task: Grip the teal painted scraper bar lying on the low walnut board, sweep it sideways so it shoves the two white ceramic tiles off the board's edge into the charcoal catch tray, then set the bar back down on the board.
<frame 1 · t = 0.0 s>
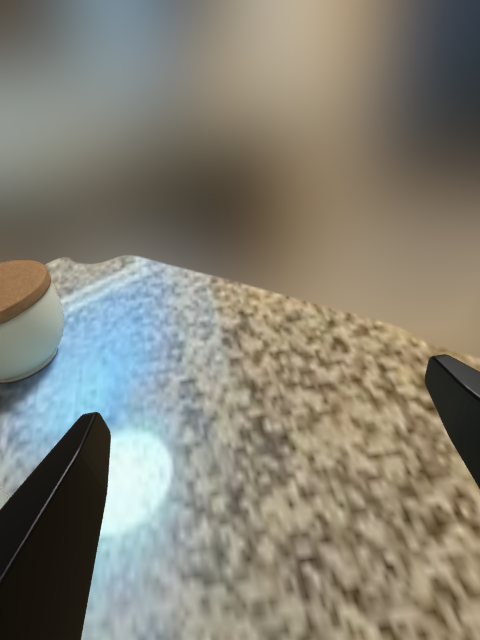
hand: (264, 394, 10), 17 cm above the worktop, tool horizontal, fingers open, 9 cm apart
lidded bowl: (25, 360, 41), on the worktop
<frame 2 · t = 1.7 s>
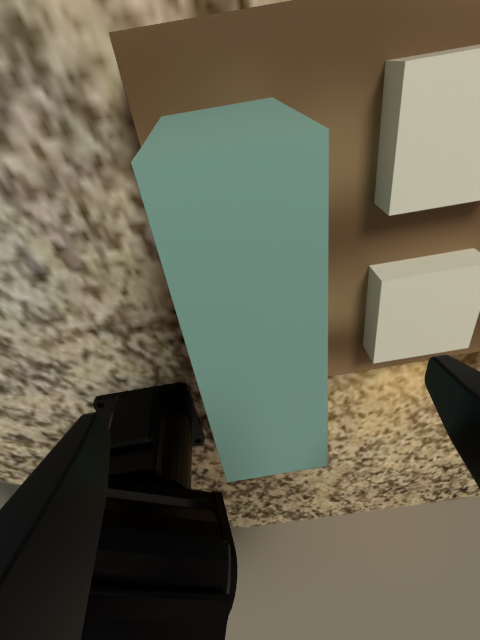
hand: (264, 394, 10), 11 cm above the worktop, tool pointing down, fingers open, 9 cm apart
scraper: (240, 258, 16), point 3 cm above the worktop, touching board
tile 1: (443, 128, 14), point 3 cm above the worktop, touching board
board: (349, 213, 19), on the worktop
tile 2: (413, 300, 19), point 3 cm above the worktop, touching board
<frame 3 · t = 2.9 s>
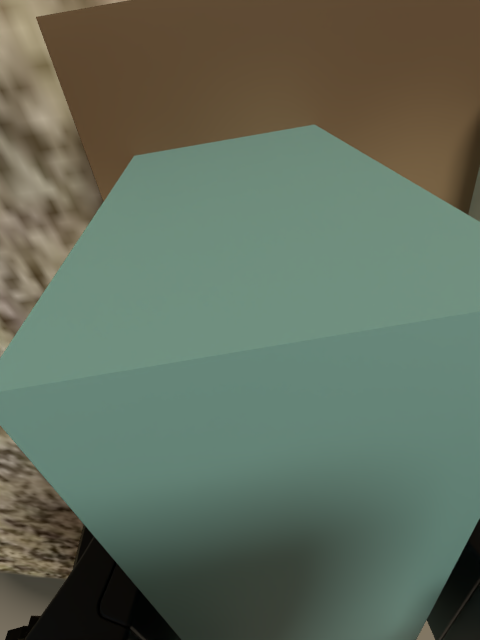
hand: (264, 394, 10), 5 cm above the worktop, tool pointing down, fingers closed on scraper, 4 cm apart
scraper: (255, 346, 12), point 3 cm above the worktop, touching board, gripper
board: (401, 269, 14), on the worktop
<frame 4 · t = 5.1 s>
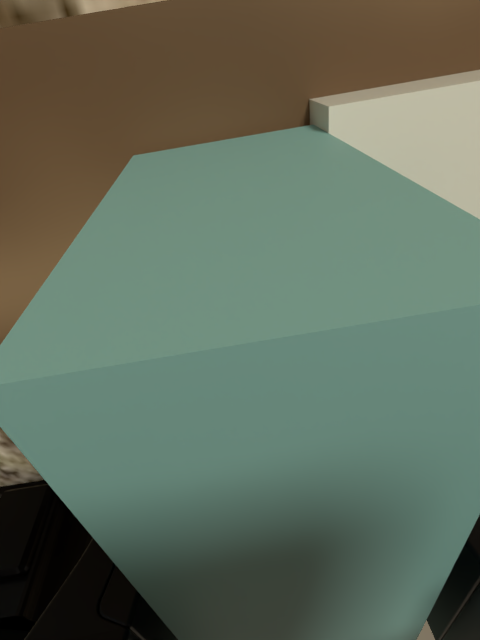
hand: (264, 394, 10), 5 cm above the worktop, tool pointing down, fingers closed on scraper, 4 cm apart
scraper: (254, 347, 11), point 3 cm above the worktop, touching gripper, tile 2, tile 1
tile 1: (407, 194, 9), point 3 cm above the worktop, touching scraper
board: (271, 288, 14), on the worktop
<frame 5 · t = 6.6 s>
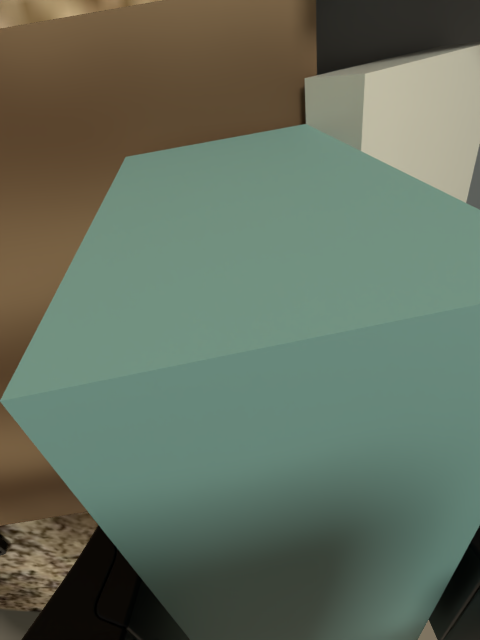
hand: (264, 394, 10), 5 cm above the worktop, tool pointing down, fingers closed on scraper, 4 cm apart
scraper: (250, 346, 11), point 3 cm above the worktop, touching gripper, tile 2, tile 1
tray: (426, 262, 14), on the worktop
tile 1: (373, 170, 10), point 2 cm above the worktop, tilted 32°, touching scraper, tray
board: (72, 321, 14), on the worktop
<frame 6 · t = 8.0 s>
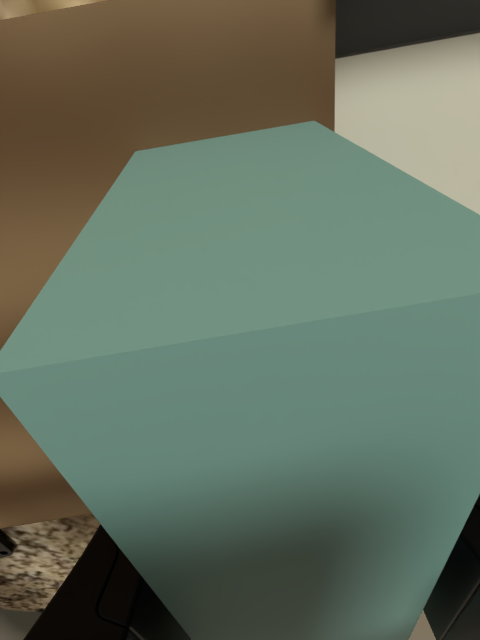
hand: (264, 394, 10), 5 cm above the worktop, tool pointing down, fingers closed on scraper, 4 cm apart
scraper: (255, 342, 12), point 3 cm above the worktop, touching gripper
tray: (439, 259, 14), on the worktop
tile 1: (394, 147, 11), point 1 cm above the worktop, touching tray
board: (79, 320, 14), on the worktop
when the fingers open (5 cm above the worktop, at t = 9.4 s): scraper stays where it is, resting on board.
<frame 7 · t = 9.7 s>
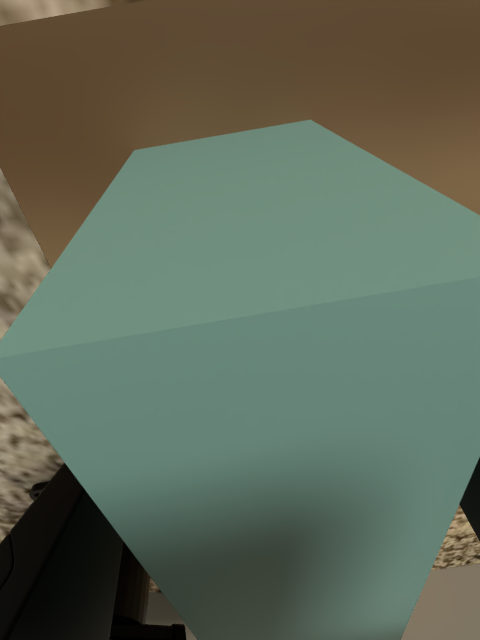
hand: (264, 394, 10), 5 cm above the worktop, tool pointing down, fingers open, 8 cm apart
scraper: (253, 339, 12), point 3 cm above the worktop, touching board
board: (346, 275, 14), on the worktop
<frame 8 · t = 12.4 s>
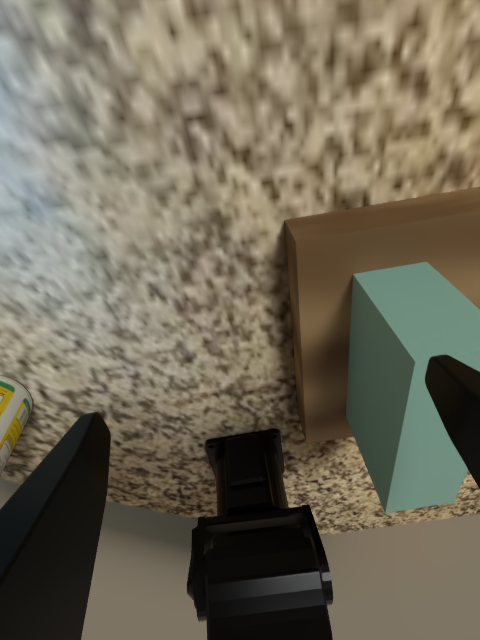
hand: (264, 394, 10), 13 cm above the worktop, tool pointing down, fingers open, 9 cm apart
scraper: (380, 351, 23), point 3 cm above the worktop, touching board
board: (419, 314, 26), on the worktop
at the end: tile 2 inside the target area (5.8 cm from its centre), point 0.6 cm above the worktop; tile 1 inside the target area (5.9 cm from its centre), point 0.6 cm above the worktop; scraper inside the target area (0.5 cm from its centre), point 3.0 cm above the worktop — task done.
